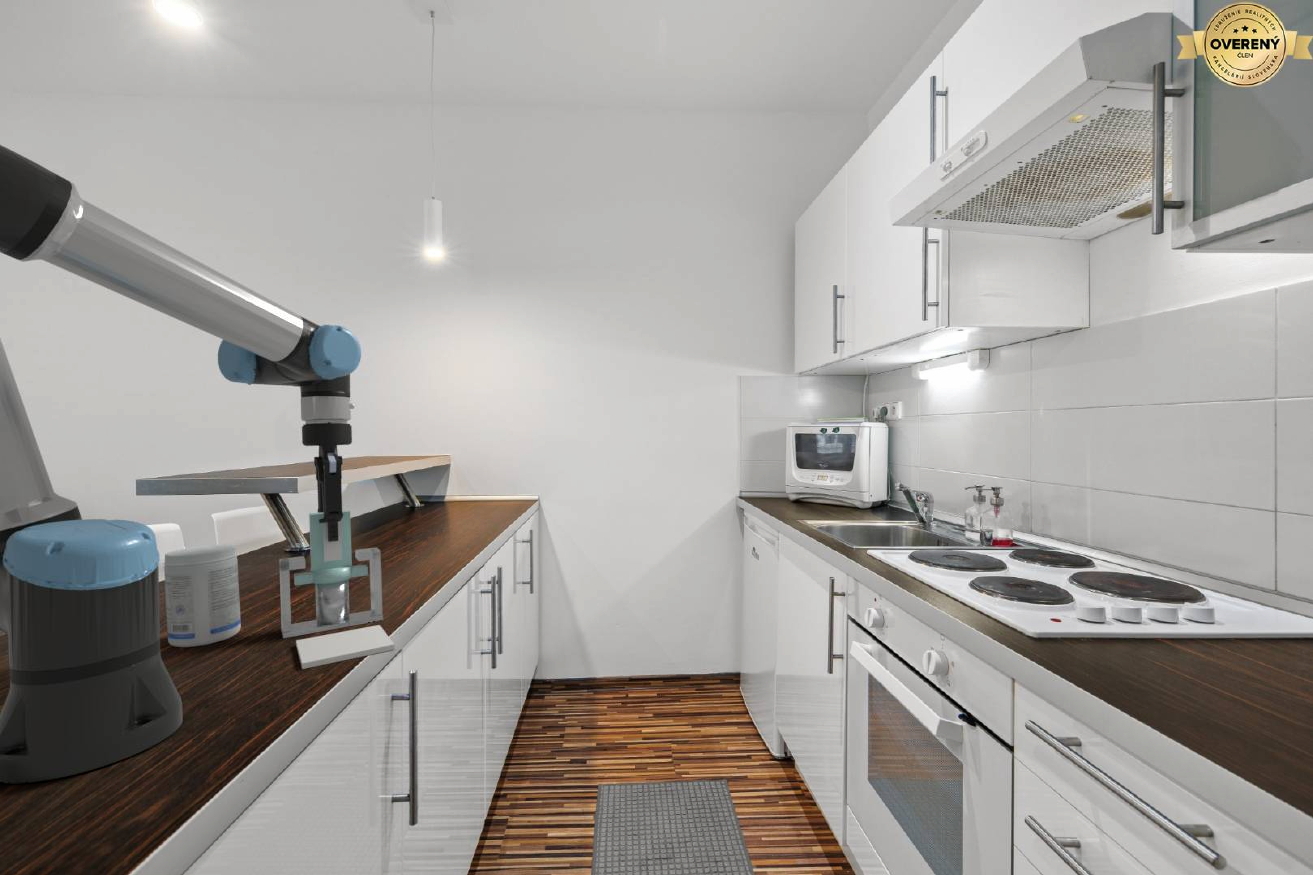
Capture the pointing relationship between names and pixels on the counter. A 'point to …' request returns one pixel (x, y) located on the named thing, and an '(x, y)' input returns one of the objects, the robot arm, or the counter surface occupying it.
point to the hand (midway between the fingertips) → (331, 557)
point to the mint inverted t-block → (329, 569)
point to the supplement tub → (202, 595)
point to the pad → (343, 646)
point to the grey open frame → (331, 598)
